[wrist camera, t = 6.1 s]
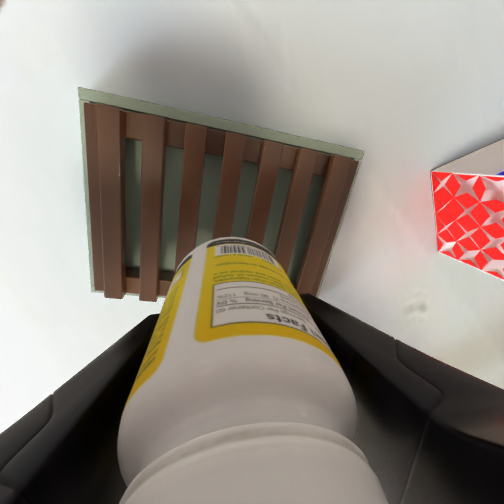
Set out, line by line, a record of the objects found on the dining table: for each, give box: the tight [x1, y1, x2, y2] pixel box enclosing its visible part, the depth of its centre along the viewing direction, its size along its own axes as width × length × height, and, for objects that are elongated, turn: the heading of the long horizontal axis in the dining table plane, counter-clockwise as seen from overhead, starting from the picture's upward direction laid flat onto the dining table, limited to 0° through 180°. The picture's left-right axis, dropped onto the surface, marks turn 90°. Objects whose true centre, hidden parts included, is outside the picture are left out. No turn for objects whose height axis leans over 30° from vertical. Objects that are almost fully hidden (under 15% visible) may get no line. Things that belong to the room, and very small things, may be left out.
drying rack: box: [84, 102, 359, 302], centre depth 17 cm, size 17×12×2 cm
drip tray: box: [78, 87, 364, 298], centre depth 18 cm, size 18×14×1 cm
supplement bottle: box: [117, 237, 389, 504], centre depth 6 cm, size 5×5×8 cm
